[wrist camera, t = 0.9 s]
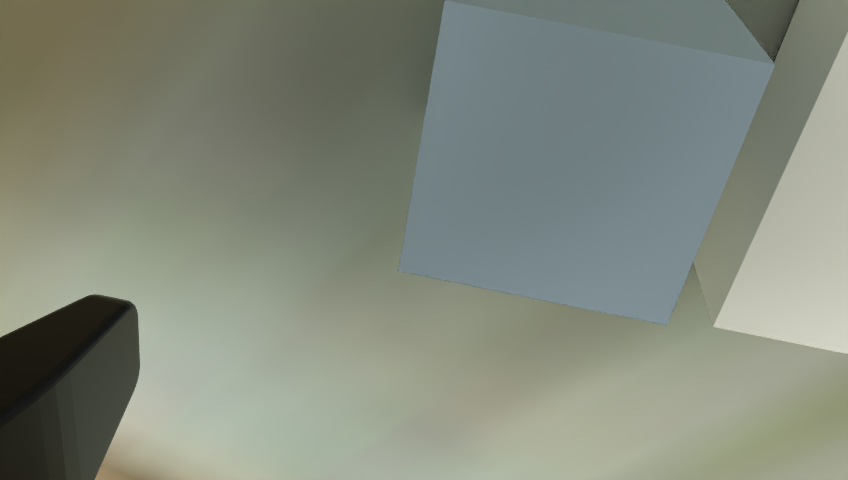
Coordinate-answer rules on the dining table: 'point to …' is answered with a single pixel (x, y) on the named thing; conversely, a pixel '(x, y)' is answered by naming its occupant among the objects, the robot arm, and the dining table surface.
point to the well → (789, 197)
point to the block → (580, 147)
